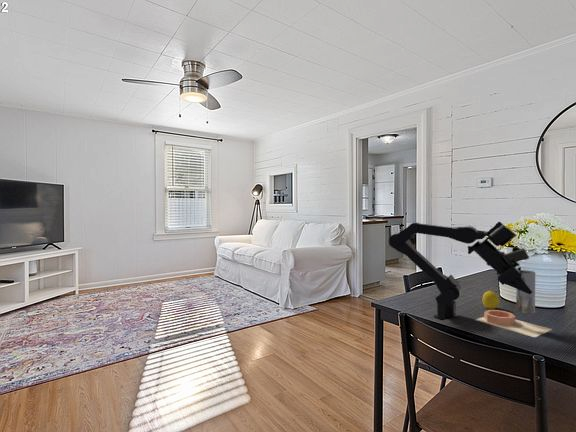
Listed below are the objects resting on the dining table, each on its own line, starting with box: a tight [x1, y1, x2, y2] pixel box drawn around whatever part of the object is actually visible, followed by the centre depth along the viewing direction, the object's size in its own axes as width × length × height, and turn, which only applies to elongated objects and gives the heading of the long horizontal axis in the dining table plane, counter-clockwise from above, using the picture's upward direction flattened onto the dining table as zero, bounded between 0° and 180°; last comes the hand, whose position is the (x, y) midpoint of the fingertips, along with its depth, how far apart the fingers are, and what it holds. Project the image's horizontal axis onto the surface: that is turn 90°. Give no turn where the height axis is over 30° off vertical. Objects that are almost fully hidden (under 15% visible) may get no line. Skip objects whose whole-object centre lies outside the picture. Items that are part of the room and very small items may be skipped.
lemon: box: [481, 290, 500, 310], centre depth 128 cm, size 6×6×8 cm
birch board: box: [475, 316, 553, 338], centre depth 110 cm, size 12×18×1 cm, turn 29°
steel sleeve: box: [515, 269, 536, 314], centre depth 106 cm, size 5×5×13 cm
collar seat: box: [483, 309, 516, 326], centre depth 114 cm, size 9×9×2 cm
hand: (530, 291), depth 105 cm, fingers closed on steel sleeve, 5 cm apart
